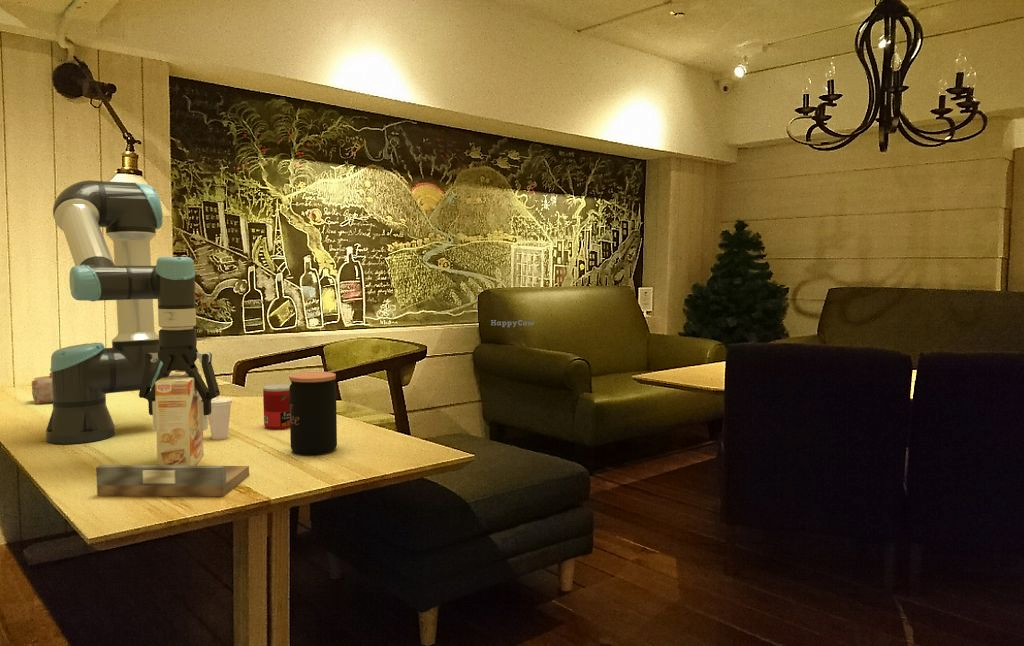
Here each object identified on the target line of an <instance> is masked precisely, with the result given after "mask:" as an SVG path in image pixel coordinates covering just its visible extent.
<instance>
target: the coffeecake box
mask: <svg viewBox="0 0 1024 646" xmlns="http://www.w3.org/2000/svg"><path fill="white" fill-rule="evenodd" d="M198 372H199V374H200V376H201V377H203V376H202V375H203V371H198ZM155 400H156V431H155V432H156V455H157V456H156V457H157V458H156V461H157V462H156V463H157V465H179V466H197V465H198V463H199V462H200V460H201V459H202V458H203V456H204V454H205V452H204V431H199V401H201V400H202V398H201V396H200V395H199V393H198V391H197V389H196V388H195V382H194V378H191V377H189V375H188V374H186V372H185V371H171V373H170V374H169V376H167V377H164V378H161V379H159V380H158V381H156V382H155Z"/></svg>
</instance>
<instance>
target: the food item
mask: <svg viewBox="0 0 1024 646" xmlns="http://www.w3.org/2000/svg"><path fill="white" fill-rule="evenodd" d="M31 395H32V399H33V401H34V402H35V404H36V405H49V404H53V400H52V374H51V372H49V375H46V376H38V377H34V380H31Z"/></svg>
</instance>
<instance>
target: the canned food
mask: <svg viewBox="0 0 1024 646" xmlns="http://www.w3.org/2000/svg"><path fill="white" fill-rule="evenodd" d="M290 385H291V384H286V383H285V384H282V383H281V384H279V383H278V384H268V385H265V386H263V389H262V394H263V395H262V399H263V400H262V401H263V403H262V404H263V424H264V425H263V426H264V428H265V429H267V430H272V431H277V430H278V431H282V430H289V429H290V393H289V388H290Z"/></svg>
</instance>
